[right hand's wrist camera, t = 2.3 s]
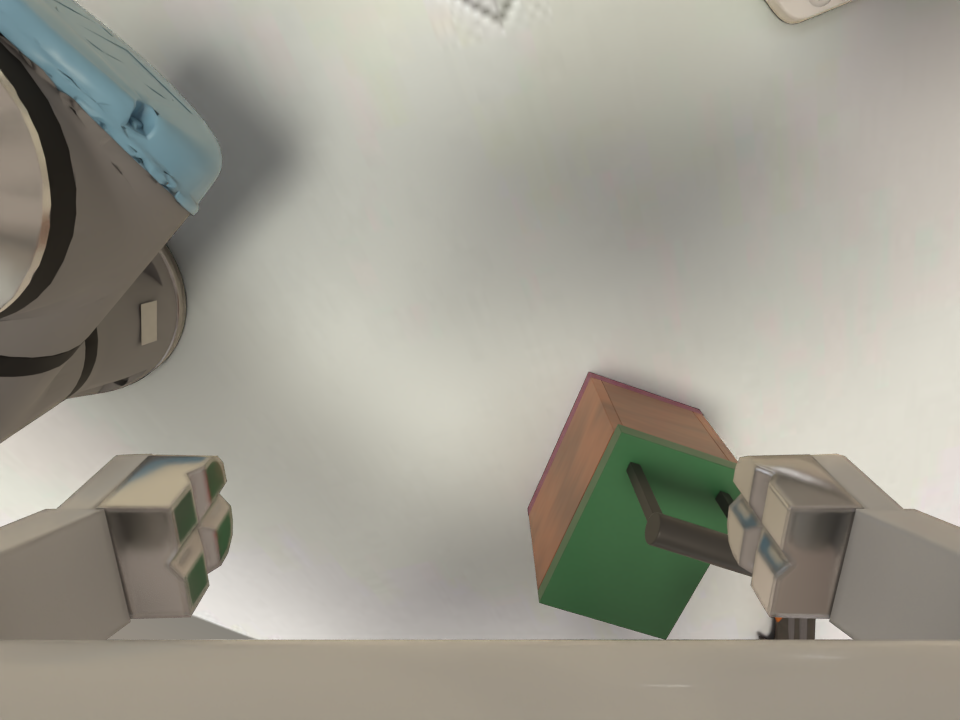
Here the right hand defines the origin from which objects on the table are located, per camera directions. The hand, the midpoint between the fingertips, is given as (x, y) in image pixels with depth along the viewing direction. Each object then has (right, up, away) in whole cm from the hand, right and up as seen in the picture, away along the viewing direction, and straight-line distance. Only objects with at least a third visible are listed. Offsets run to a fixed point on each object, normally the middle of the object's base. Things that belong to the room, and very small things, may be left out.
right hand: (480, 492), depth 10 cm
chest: (+11, -6, +43) cm, 44 cm away
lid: (+11, -10, +33) cm, 36 cm away
